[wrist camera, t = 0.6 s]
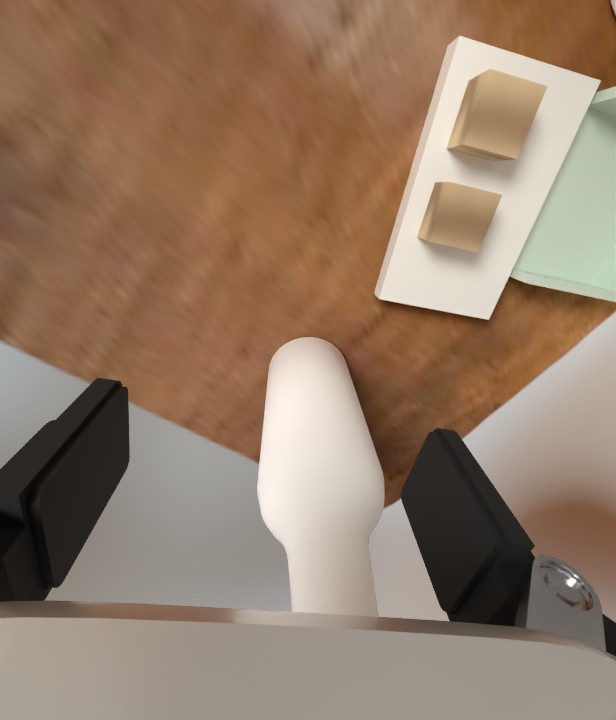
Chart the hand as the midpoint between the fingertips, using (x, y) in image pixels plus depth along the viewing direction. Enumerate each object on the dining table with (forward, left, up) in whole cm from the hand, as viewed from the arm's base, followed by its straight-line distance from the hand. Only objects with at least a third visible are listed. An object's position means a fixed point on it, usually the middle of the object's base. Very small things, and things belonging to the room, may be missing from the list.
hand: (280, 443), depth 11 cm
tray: (-11, +27, -26) cm, 39 cm away
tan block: (-8, +14, -24) cm, 28 cm away
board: (-9, +16, -26) cm, 31 cm away
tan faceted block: (-15, +14, -24) cm, 31 cm away
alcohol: (+11, +5, -26) cm, 28 cm away
